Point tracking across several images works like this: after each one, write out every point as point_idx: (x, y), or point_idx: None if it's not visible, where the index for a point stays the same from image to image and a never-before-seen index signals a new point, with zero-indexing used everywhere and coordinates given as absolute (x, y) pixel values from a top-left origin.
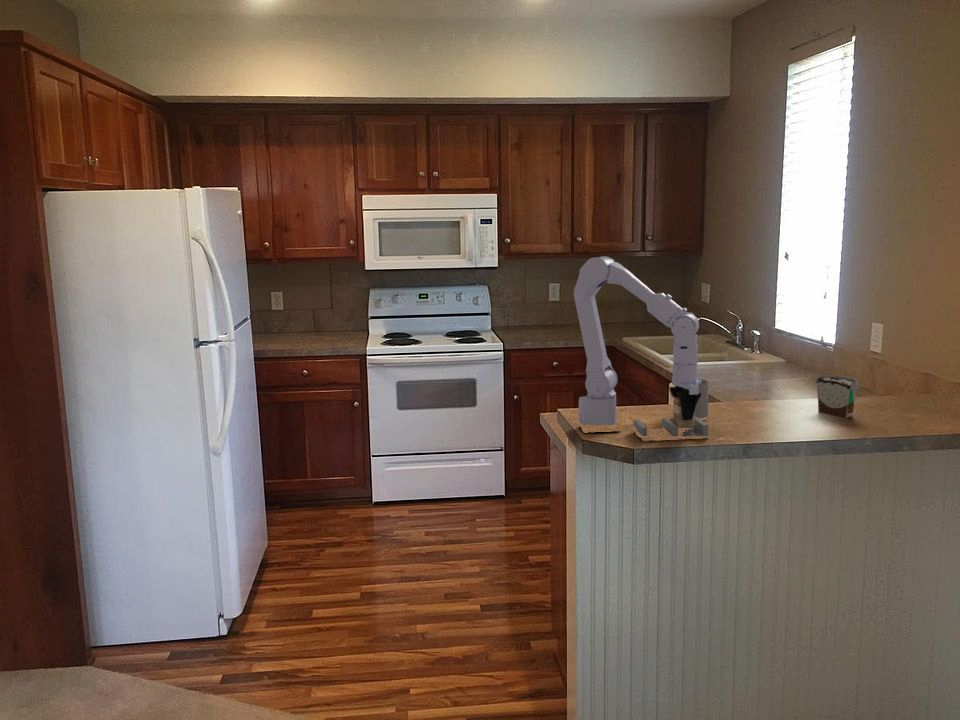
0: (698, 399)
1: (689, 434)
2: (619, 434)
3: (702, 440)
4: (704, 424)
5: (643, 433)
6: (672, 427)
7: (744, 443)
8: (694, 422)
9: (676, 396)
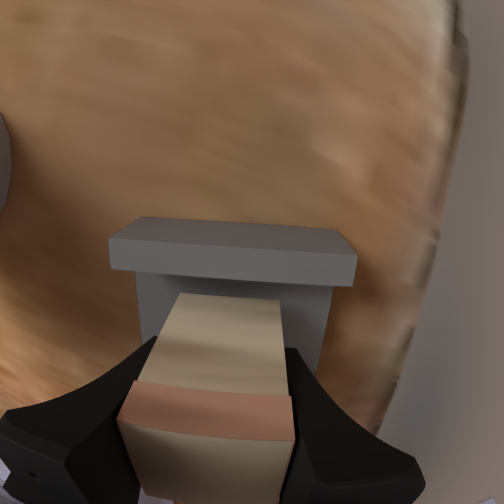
0: (385, 443)
1: (301, 319)
2: None
3: None
4: (339, 272)
5: None
6: None
7: (446, 101)
8: (280, 316)
9: (135, 482)
